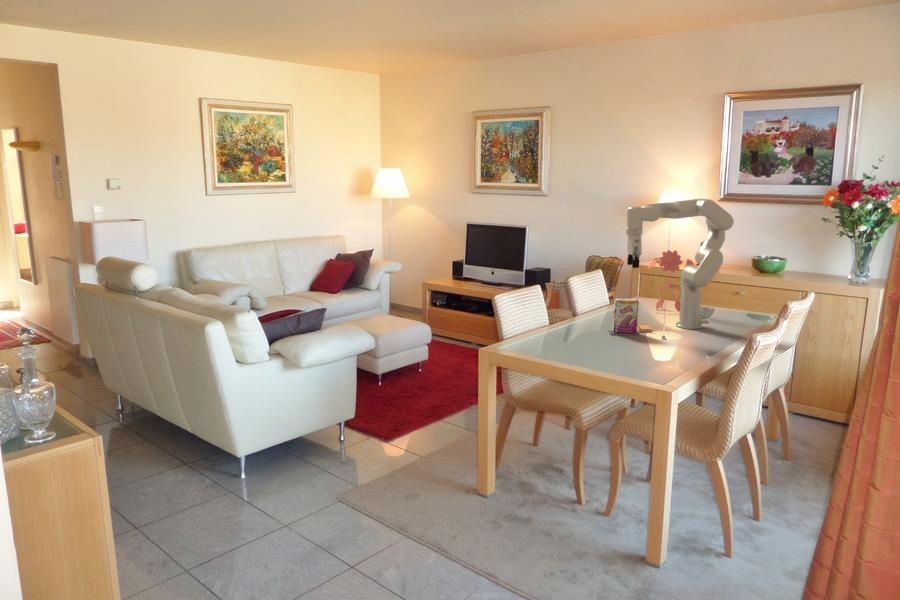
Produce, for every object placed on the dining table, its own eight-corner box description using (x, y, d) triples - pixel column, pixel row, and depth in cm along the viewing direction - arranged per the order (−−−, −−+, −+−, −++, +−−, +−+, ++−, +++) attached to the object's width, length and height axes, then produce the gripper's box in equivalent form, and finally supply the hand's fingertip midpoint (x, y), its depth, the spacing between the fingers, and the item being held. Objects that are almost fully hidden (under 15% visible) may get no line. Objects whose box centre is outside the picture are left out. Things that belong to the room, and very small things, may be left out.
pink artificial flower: (648, 306, 386) (651, 247, 378) (693, 311, 372) (698, 250, 364) (639, 311, 373) (643, 250, 365) (686, 317, 359) (691, 254, 351)
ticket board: (647, 328, 334) (647, 324, 334) (651, 332, 327) (651, 328, 326) (635, 328, 335) (635, 324, 334) (639, 331, 327) (639, 328, 327)
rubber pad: (636, 331, 327) (637, 330, 327) (640, 335, 320) (640, 334, 320) (608, 331, 328) (608, 330, 328) (610, 335, 321) (611, 333, 321)
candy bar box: (613, 333, 322) (615, 300, 319) (612, 330, 327) (613, 298, 323) (637, 333, 321) (639, 300, 318) (635, 331, 326) (637, 298, 323)
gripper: (646, 233, 316) (645, 268, 319) (637, 229, 333) (636, 263, 336) (631, 233, 316) (629, 269, 319) (622, 230, 333) (621, 263, 336)
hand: (633, 266), depth 328 cm, fingers open, 9 cm apart
